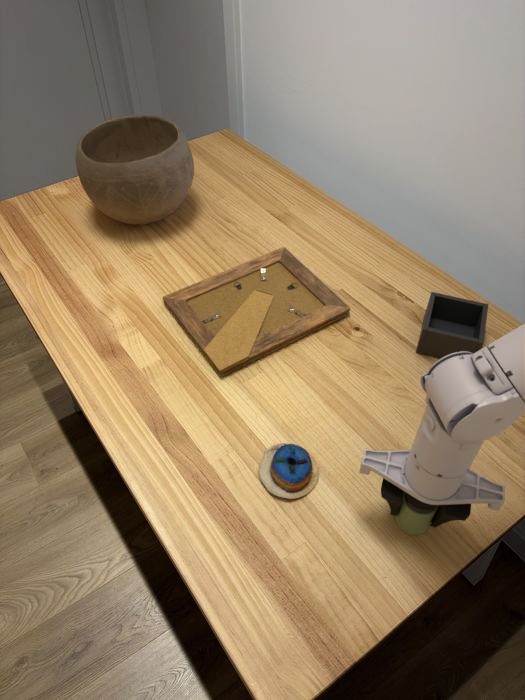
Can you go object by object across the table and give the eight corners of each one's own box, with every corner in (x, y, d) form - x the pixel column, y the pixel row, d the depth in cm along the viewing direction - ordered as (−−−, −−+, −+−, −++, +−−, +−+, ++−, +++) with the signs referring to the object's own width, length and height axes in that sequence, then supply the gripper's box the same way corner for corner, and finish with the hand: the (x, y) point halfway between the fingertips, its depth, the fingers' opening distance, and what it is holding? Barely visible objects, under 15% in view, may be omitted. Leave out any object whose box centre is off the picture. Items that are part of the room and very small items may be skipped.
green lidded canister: (431, 509, 66) (443, 485, 62) (426, 540, 64) (438, 517, 59) (398, 498, 67) (407, 474, 62) (391, 528, 64) (401, 505, 60)
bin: (478, 327, 86) (488, 304, 82) (473, 367, 81) (483, 343, 77) (424, 315, 88) (431, 291, 84) (415, 352, 83) (422, 329, 79)
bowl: (73, 203, 109) (50, 130, 98) (164, 169, 117) (153, 98, 106) (121, 257, 98) (102, 181, 87) (219, 215, 106) (213, 141, 95)
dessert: (327, 495, 66) (299, 474, 63) (282, 514, 69) (253, 496, 65) (317, 441, 72) (291, 419, 69) (276, 461, 75) (249, 441, 71)
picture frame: (220, 378, 80) (349, 315, 88) (219, 370, 78) (350, 306, 87) (163, 303, 90) (283, 253, 98) (161, 295, 89) (284, 245, 97)
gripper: (520, 438, 55) (481, 500, 65) (375, 402, 58) (359, 467, 68) (519, 500, 51) (477, 557, 61) (362, 458, 54) (347, 519, 64)
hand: (414, 513), depth 64 cm, fingers closed on green lidded canister, 4 cm apart
